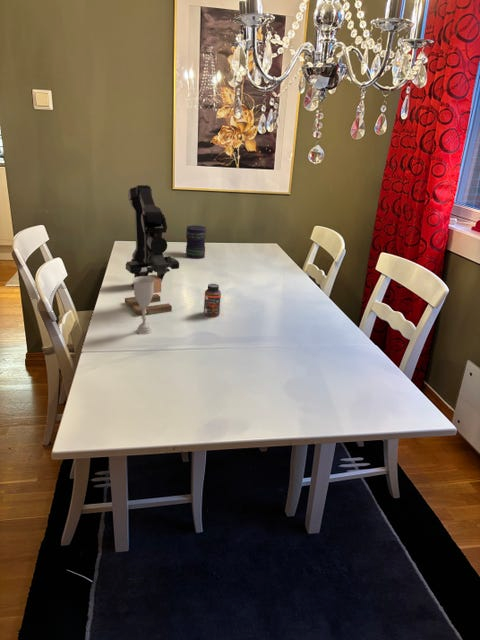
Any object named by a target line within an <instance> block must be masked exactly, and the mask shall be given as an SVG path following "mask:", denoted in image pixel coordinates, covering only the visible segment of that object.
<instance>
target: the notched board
mask: <svg viewBox="0 0 480 640" xmlns="http://www.w3.org/2000/svg"><path fill="white" fill-rule="evenodd" d="M157 302H158V303H159V302H161V296H160V295H159V294H158V293H153V296H152V299H151V301H150V303H157ZM150 303H149V304H150ZM124 304H125V305H126V306H128V308H129V309H130V310H131V311H132V312H133V313H134V314H135V315H136V316H137V317H142V316H143V314H142V310H143V308H142V307H140V305H139V304H138V302H137V300H136V297H135V296H131V297H130V296H128V297H124ZM172 311H173V306H172V305H171V304H170V303H163V304H154V305H148V306H147V307H146V312H147V313H146V316H147V315H148V316H149V315H155V314H161V313H169V312H172Z"/></svg>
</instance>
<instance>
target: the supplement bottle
mask: <svg viewBox="0 0 480 640" xmlns="http://www.w3.org/2000/svg"><path fill="white" fill-rule="evenodd" d="M203 299H204V301H203V304H204V305H203V314H204V315H205V316H207V317H211V318H212V317H218V316H219V315H220V314H221V299H222V292H221V290H220V285H219V284H217V283H208V285H207V289H205V290H204V298H203Z"/></svg>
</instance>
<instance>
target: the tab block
mask: <svg viewBox="0 0 480 640" xmlns="http://www.w3.org/2000/svg"><path fill="white" fill-rule="evenodd" d="M148 276H149V277H153V278H155V281H154V283H153V294H158V293H162V282H161V279H160V278H159V277H158V276H157V274H148Z"/></svg>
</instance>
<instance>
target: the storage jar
mask: <svg viewBox="0 0 480 640" xmlns="http://www.w3.org/2000/svg"><path fill="white" fill-rule="evenodd" d="M206 229H207V227H206V226H202V225H195V224H193V225H187V226H186V233H185V235H186V237H185V238H186V246H185V247H186V248H185V257H186V258H188V259H192V260H201V259H204V258H205V257H206V237H207V233H206V232H207V231H206Z"/></svg>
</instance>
